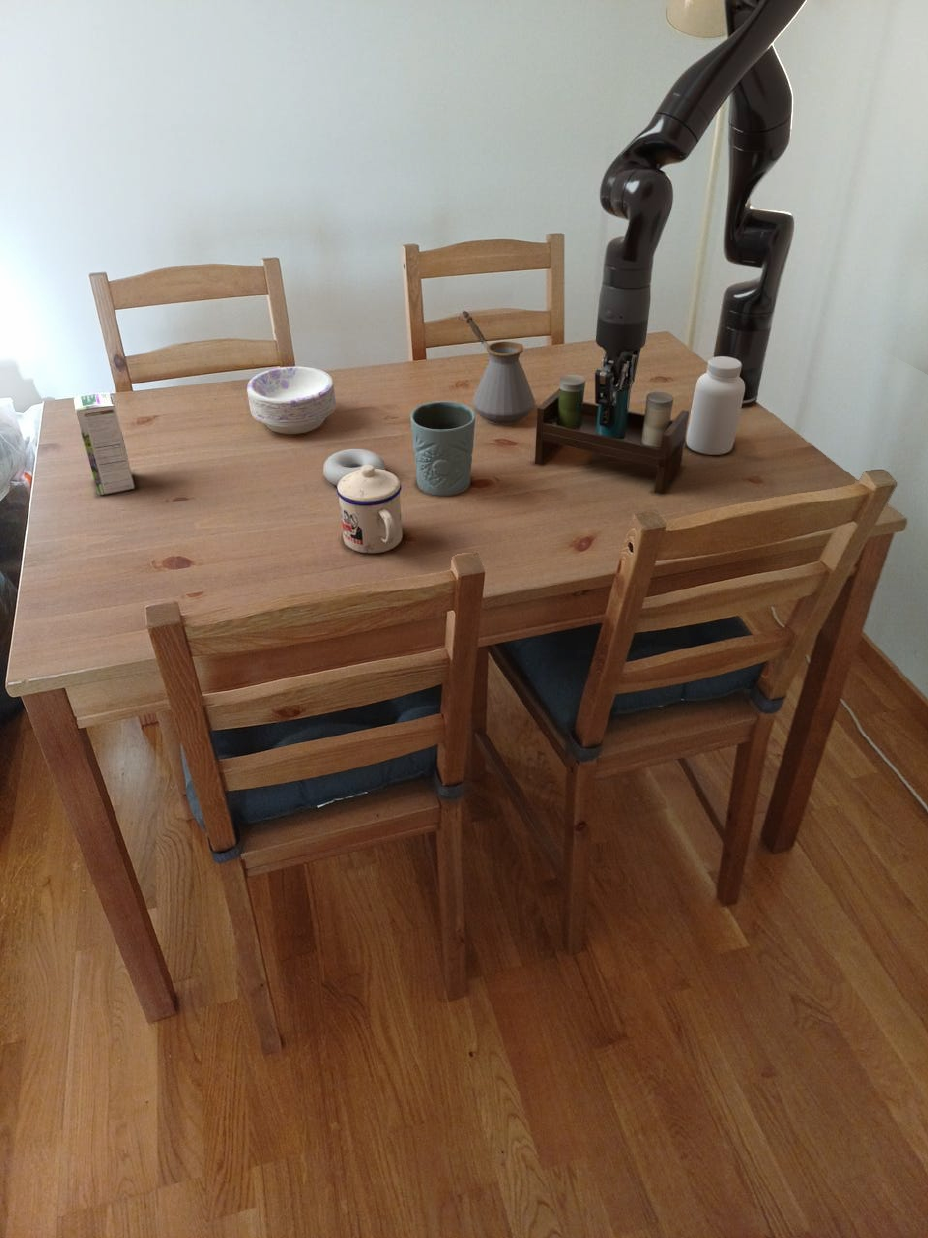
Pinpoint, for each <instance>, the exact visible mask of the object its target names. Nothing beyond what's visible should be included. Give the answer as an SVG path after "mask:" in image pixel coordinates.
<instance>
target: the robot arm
mask: <svg viewBox="0 0 928 1238" xmlns="http://www.w3.org/2000/svg"><path fill="white" fill-rule="evenodd" d="M807 1H808V0H723V9H724V19H725V31H726V39H725V40H723V41H722V42H721V43H719V44H718V45H717V46H715V47H714V48H712V49H711V50H710V51H709V52H707V53H706V54H705V55H704V56H702V57H701V58H699V59H698V60H696V61H694V63H693V64H691V65H690V66H689V67H688V68H687V69H686V70H684V72H683V73H682V74H680V76H679V77H678V78H677V79H676V80H675V82H674V83H673V84H672V86H671V87H670V88H669V90H668V92H667V93H666V95H665V97H664V98H663V100H662V101H661V103H660V105H659V106H658V108H657V109H656V111H655V113H654V114H653V116H652V118H651V119H650V121H649V123H648V124H647V125H646V126H645V127H644V129H642V131H640V132H639V133H638V134H637V135H636V136H635V137H634V138H633V139H632V140H631V141H630V142H629V143H628V144H627V146H626V147H625V148H623V149H622V151H621V152H620V153H619V154H618V155H617V156H616V157H615V158H614V159H613V160H612V162H611V163H610V165H609V166H608V168H607V169H606V171H605V173H604V175H603V177H602V180H601V182H600V186H599V187H600V188H599V193H598V194H599V195H598V197H599V202H600V206H601V207H602V209H603V210H604V211H605V212H606V213H608V214H609V215H611V216H612V217H616V218H619V219H622V220H625V221H626V220H627V221H628V223H627V228H626V231H625V234H624V235H621V236H616V237H613V238H612V239H611V240H609V242H608V243H607V244H606V247H605V251H604V260H603V271H602V282H601V286H600V292H599V297H598V309H597V320H596V333H595V343H596V345H597V346H598V347H600V348H602V349H603V350H604V351H605V354H604V356H603V358H602V361H601V369H596V370H595V372H594V404H597V405H599V404H600V405H601V409H600V420H599V424H600V425H601V426H604V427H608V428H611V427H612V426H613V425H614V418H615V408H616V403H617V397H618V392H619V391H621V390H622V388H623V383H624V378H625V377H629V378H631V379H632V385H633V384H634V383H635V381H636V374H637V370H638V369H637V368H638V364H639V363H638V362H639V357H640V353H641V349H642V348H643V347H644V346H645V345H646V341H647V335H648V333H647V332H648V327H649V318H650V309H651V308H650V307H651V301H652V300H651V297H652V296H651V295H652V292H651V291H652V290H651V289H652V276H653V270H654V269H653V268H654V260H655V254H656V252H657V249H658V247H659V244H660V241H661V239H662V235H663V233H664V230H665V228H666V225H667V223H668V220H669V217H670V215H671V212H672V207H673V203H674V189H673V183H672V180H671V178H670V177H669V175H668V174H667V173H666V172H665V171H664V170H662V168H664V167H666V166H669V165H675V164H680V163H683V162H684V161H686V160H687V159H689V157H690V155H691V154H692V153H693V151H694V149H695V148H696V146H697V145H698V143H699V142H700V141H701V138H702V137H703V135H704V134H705V132H706V131H707V129H708V128H709V126H710V125H711V123H712V121H713V120H714V119H715V117H716V115H717V114H718V112H719V110H720V109H721V108H722V106H723V105H724V103H725V102H726V100H727V99H728V109H727V113H728V114H727V157H728V160H727V161H728V164H727V165H728V166H727V167H728V168H727V169H728V173H727V175H728V176H727V177H728V180H727V195H726V197H727V198H726V208H725V219H724V227H723V228H724V229H723V245H722V246H723V255H724V258H725V260H726V261H727V262H728V263H730V264H733V265H735V266H741V267H749V268H754V269H761V273H760V276H757V277H756V278H753V279H750V280H746V281H741V282H737V283H733V284H731V285H728V286H727V287H726V288H725V291H724V293H723V296H722V303H721V308H720V315H719V321H718V327H717V333H716V337H715V345H714V351H713V355H712V358H713V357H718V356H725V357H731V358H735V359H737V360H739V361H740V362H741V364H742V367H741V372H740V376H739V377H740V378H741V379H742V380H743V381H744V384H745V392H744V397H743V402H742V406H741V407H745V406H750V405H753V404H754V403H756V402H757V400H758V396H759V388H760V383H761V379H762V374H763V370H764V365H765V359H766V356H767V350H768V347H769V346H768V345H769V342H770V336H771V331H772V326H773V321H774V317H775V312H776V307H777V303H778V298H779V295H780V290H781V286H782V280H783V276H784V272H785V268H786V264H787V261H788V257H789V253H790V250H791V245H792V241H793V237H794V231H795V217H794V216H793V214H792V213H791V212H788V211H784V210H776V209H775V210H774V209H769V208H768V209H767V208H760V207H759V208H758V207H753V205H752V203H751V199H752V195H754V192H755V191H756V190H757V188H758V187H759V185H760V183H761V182H762V181H763V180H764V178H765V177H766V176H767V175H768V174H769V173H770V172H771V170H773V168H774V167H775V165H776V164H777V163H778V162H779V161H780V159H781V158H782V156H783V155H784V153H785V151H786V150H787V148H788V146H789V143H790V140H791V133H792V124H793V123H792V122H793V109H794V95H793V90H792V86H791V83H790V79H789V78H788V75H787V73H786V70H785V67H784V65H783V64H782V62H781V59H780V57H779V55H778V53H777V51H776V48H775V45H774V43H775V41H776V40H777V39H778V37H780V35H781V34H782V33H783V32H784V31H785V29H786V28H787V27H788V26H789V25H790V23H791V22H792V21H793V20H794V18H795V17H796V16H797V15H798V13H799V12H800V11H801V9H802V8H803V7H804V5H805V4H806V2H807ZM613 382H617V383H618V384H617V385H613ZM606 394H607V397H606V396H605V395H606Z"/></svg>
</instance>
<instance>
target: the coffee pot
mask: <svg viewBox="0 0 928 1238" xmlns="http://www.w3.org/2000/svg"><path fill="white" fill-rule="evenodd" d="M462 315H463V317H464V318H462V319H460V317H461V316H462ZM457 317H458V321H465V322H466V324H468V325H469V326H470V329H471V331H472V332H473V334H474V335H475V336H476V338H477V339H478V340H479V341H480V343H481V344H482V345H483V347H484V348H485V349H486V351H487V353H488V354H489V361H488V363H487V365H486V367H485V370H484V372H483V375H482V377H481V379H480V381H479V384H478V385H477V388H476V390H475V392H474V394H473V398H472V399H471V402H472V406H473V409H474V412H475V413H477V414H478V415H479V416H480V417H481V418H482V419H483V420H484V421H485V422H487V423H490V424H493V425H499V426H501V425H502V426H509V425H515V424H517V423H520V422H522V421H523V420H524V419H525V418H526V417H527V416H528V415H529V414H531V413H532V412H533V409H534V408H535V404H536V400H535V396H534V394H533V392H532V389H531V387H530V384H529V381H528V379H527V376H526V374H525V371H524V369H523V366H522V364H521V363H522V362H521V361H520V356H521V354H522V353H523V352H524V347H523V344H522V343H519V342H515V341H514V342H513V341H495V342H492V343H488V342H487V338H485V336H484V334H483V333H482V331H481V329H480V327H479V326H478V325H477V324H476V323H475V322H474V321H473V317H471V316H470V312H468V311H465V310H463V311H462V312H461V313H460V314H459V315H458V316H457Z"/></svg>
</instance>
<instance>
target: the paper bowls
mask: <svg viewBox="0 0 928 1238" xmlns="http://www.w3.org/2000/svg"><path fill="white" fill-rule="evenodd" d="M334 385H335V381H334V379H333V377H332V376H331V375H330V374H328V373H327V372H326V371H323V370H321V369H319V368H315V367H310V366H282V367H276V368H271V369H269V370H266V371H262V372H261V373H258V374H257V375H255V376H253V377H252V378H251V379H250V380H249V382H248V384H247V386H246V391H247V392H246V393H247V397H248V404H249V409H250V414H251V416H252V417H253V418H254V419H255V420H256V421H258V422H260V423H263V424H265V425H266V426H267V428H269V430H271V431H273V432H275V433H278V434H285V435H300V434H304V433H308V432H309V433H310V432H311V431H314V430H316V429H318V427H320V426H321V425H322V424H323V422H324V421H325V418H327V417H328V416H330V414H332V413H333V412H334V411H335V409H336V405H337V403H336V393H335V391H336V390H335V386H334Z"/></svg>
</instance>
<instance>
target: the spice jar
mask: <svg viewBox="0 0 928 1238" xmlns="http://www.w3.org/2000/svg"><path fill="white" fill-rule="evenodd" d="M617 384H618V383H617V382H613V385H617ZM632 388H633V384H632V379H631V378H629V377H625V378H624V383H623V388H622V390H621V391H619V392H618V397H617V403H616V408H615V418H614V425H613V426H612V427H611V428H608V427H604V426H601V425H600V424H599V420H600V409H601V405H600V404H597V405H598V416H597V427H596V433H597V434H599V435H604V436H608V437H613V438H617V439H619V438H622V437H624V436H625V435H626V428H627V419H628V411H630V410H629V409H630V401H631V394H632ZM605 396H606V397H607V394H606V395H605Z"/></svg>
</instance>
